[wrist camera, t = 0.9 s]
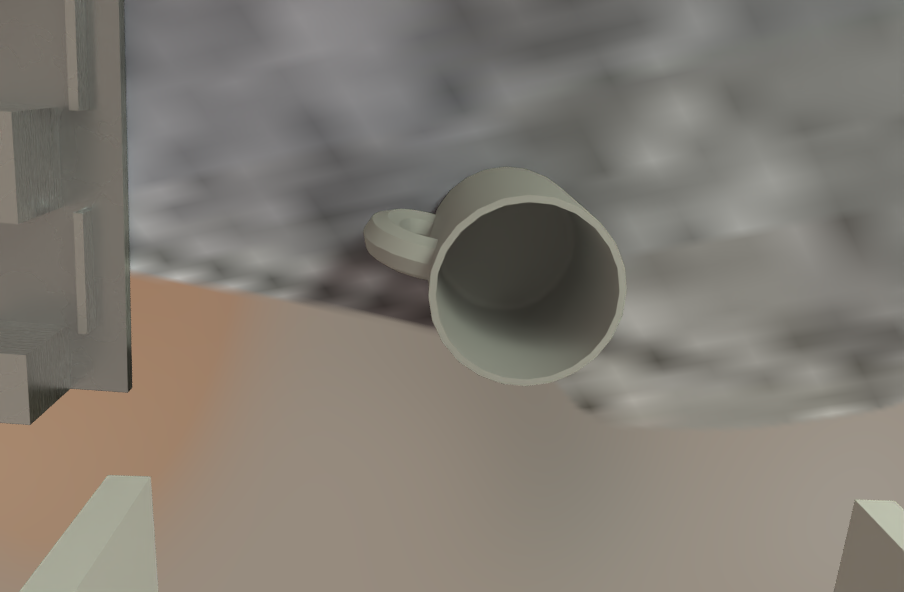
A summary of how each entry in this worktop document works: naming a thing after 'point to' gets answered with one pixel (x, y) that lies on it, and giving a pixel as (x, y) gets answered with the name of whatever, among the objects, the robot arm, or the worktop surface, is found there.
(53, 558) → the robot arm
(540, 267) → the cup
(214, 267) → the worktop surface
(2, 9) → the rail
